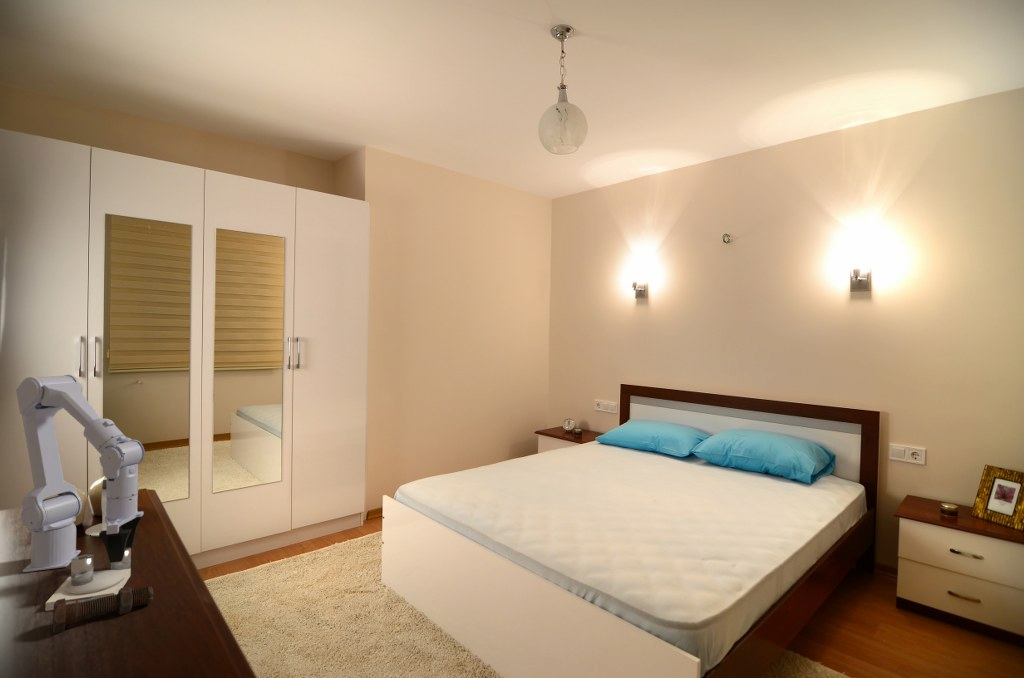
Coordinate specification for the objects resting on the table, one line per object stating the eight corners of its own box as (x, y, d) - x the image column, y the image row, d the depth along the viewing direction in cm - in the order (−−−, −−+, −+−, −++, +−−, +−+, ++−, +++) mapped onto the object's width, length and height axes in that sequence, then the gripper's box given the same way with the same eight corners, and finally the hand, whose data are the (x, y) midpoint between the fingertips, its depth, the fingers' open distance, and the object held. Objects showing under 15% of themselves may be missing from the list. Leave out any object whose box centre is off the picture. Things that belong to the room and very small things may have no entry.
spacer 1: (74, 579, 110) (75, 555, 110) (95, 576, 111) (96, 553, 111) (68, 587, 106) (68, 562, 106) (89, 584, 108) (90, 559, 108)
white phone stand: (134, 531, 143) (135, 477, 143) (81, 539, 137) (82, 482, 137) (138, 518, 153) (139, 467, 153) (88, 525, 147) (89, 472, 147)
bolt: (151, 614, 105) (52, 640, 94) (149, 593, 108) (52, 616, 98) (155, 594, 103) (54, 618, 92) (152, 573, 106) (54, 595, 96)
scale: (69, 584, 112) (69, 573, 112) (131, 575, 117) (131, 564, 117) (44, 612, 101) (44, 599, 101) (114, 601, 105) (114, 589, 105)
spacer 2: (113, 570, 120) (113, 548, 120) (132, 567, 121) (132, 545, 121) (108, 576, 116) (109, 554, 116) (128, 574, 118) (128, 551, 118)
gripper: (134, 502, 114) (134, 564, 114) (150, 485, 127) (150, 541, 127) (94, 506, 111) (94, 570, 111) (115, 488, 124) (114, 545, 124)
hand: (121, 554), depth 119 cm, fingers open, 7 cm apart
